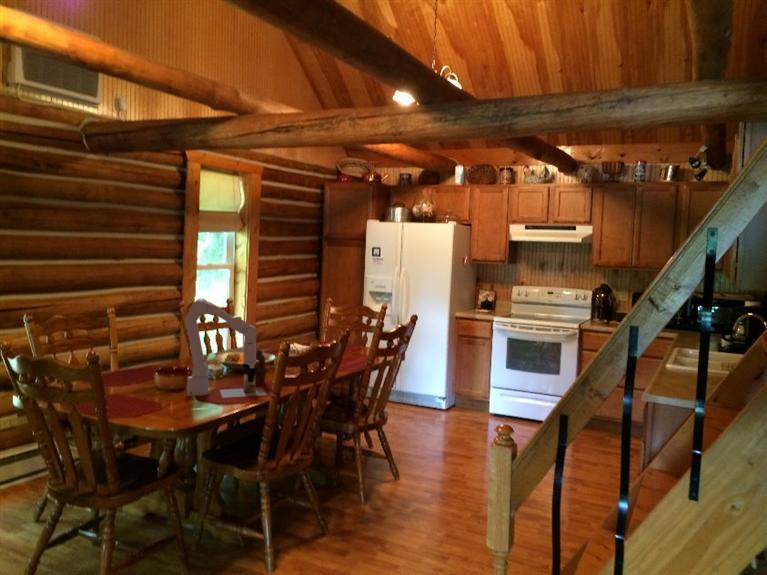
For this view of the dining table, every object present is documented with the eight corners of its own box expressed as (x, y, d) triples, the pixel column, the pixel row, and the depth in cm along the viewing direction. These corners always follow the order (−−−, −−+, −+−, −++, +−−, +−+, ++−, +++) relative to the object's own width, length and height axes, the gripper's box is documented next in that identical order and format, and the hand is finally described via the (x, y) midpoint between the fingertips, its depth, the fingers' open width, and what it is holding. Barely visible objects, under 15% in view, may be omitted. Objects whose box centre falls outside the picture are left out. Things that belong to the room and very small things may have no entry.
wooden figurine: (241, 383, 310) (241, 347, 308) (249, 381, 315) (249, 346, 314) (259, 386, 304) (260, 350, 302) (268, 384, 310) (268, 348, 308)
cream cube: (245, 385, 288) (245, 376, 287) (243, 382, 292) (244, 374, 292) (255, 384, 289) (255, 376, 289) (253, 382, 293) (253, 373, 293)
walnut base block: (244, 393, 288) (244, 385, 287) (243, 391, 292) (243, 382, 292) (255, 393, 290) (255, 384, 289) (254, 390, 294) (254, 382, 294)
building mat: (222, 399, 280) (222, 397, 280) (219, 391, 293) (219, 389, 293) (267, 396, 287) (267, 394, 287) (262, 389, 300) (262, 387, 300)
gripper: (261, 354, 284) (260, 383, 285) (256, 348, 297) (256, 376, 299) (245, 354, 281) (245, 384, 283) (241, 348, 295) (241, 376, 296)
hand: (249, 380), depth 291 cm, fingers open, 7 cm apart
